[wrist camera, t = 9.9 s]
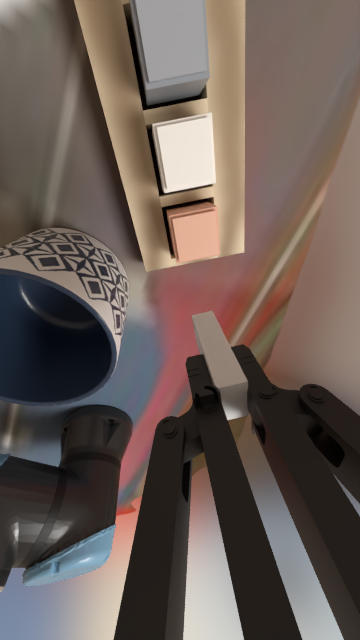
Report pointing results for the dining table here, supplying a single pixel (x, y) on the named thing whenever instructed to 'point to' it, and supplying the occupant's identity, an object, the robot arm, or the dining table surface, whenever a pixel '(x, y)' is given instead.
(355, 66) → the dining table surface
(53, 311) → the planter
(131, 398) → the dining table surface
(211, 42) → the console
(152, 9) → the key
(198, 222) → the key
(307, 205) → the dining table surface
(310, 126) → the dining table surface
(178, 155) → the key mid
